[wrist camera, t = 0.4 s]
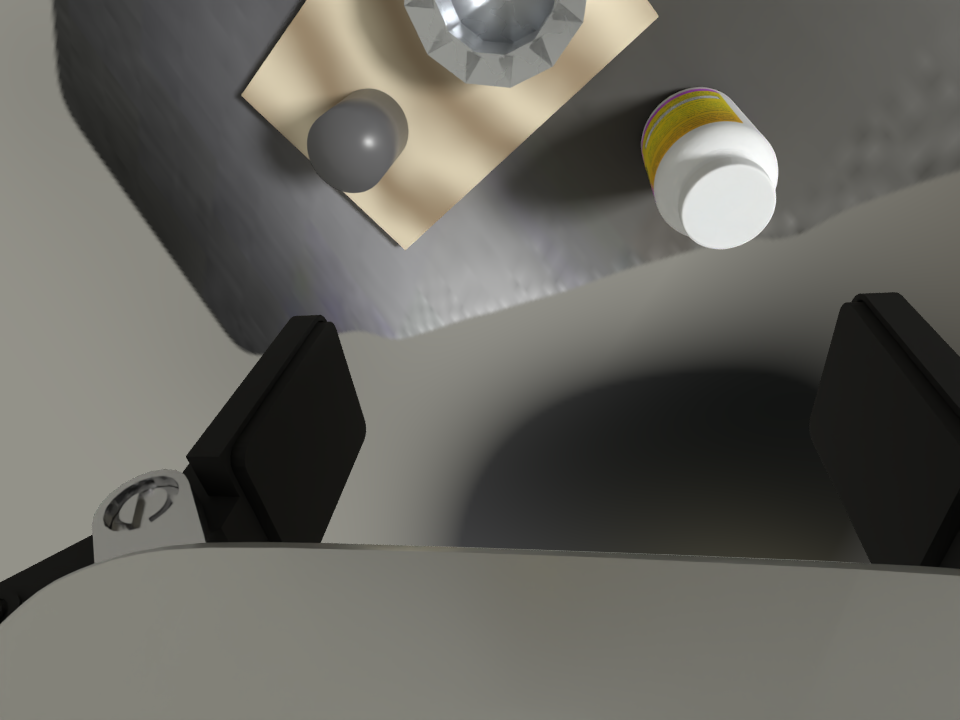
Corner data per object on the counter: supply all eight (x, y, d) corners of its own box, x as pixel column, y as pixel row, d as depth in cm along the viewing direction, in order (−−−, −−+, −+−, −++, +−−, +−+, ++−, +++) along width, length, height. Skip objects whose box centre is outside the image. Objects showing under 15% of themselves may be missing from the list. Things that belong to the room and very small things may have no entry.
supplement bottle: (619, 146, 41) (633, 219, 31) (690, 62, 37) (732, 114, 27) (688, 201, 43) (722, 287, 32) (762, 126, 39) (827, 196, 29)
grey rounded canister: (334, 84, 40) (302, 106, 35) (408, 92, 39) (384, 114, 35) (341, 159, 43) (311, 188, 38) (409, 167, 43) (387, 197, 38)
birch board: (479, -243, 30) (476, -248, 29) (656, 14, 36) (658, 16, 35) (248, 91, 42) (241, 95, 41) (408, 243, 48) (405, 250, 47)
